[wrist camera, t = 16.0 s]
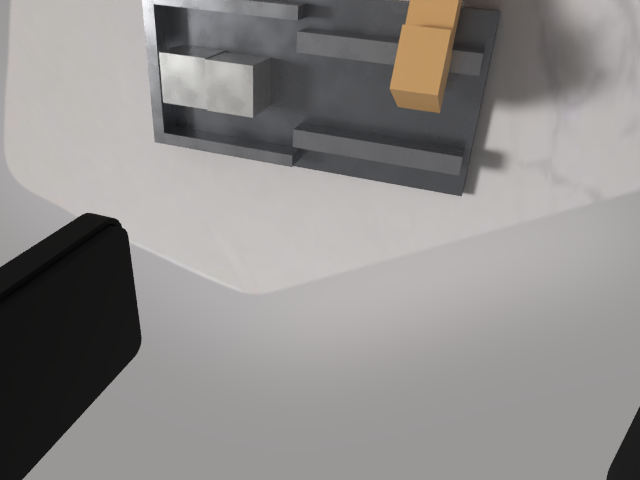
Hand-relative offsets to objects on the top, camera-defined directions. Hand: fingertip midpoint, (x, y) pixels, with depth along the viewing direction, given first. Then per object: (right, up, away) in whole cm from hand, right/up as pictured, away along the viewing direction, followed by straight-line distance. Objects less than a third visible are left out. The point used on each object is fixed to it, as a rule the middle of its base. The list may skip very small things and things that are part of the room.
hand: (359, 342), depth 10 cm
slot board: (-1, +15, +35) cm, 38 cm away
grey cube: (-7, +15, +36) cm, 40 cm away
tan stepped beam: (+6, +11, +27) cm, 29 cm away
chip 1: (-11, +16, +37) cm, 42 cm away
